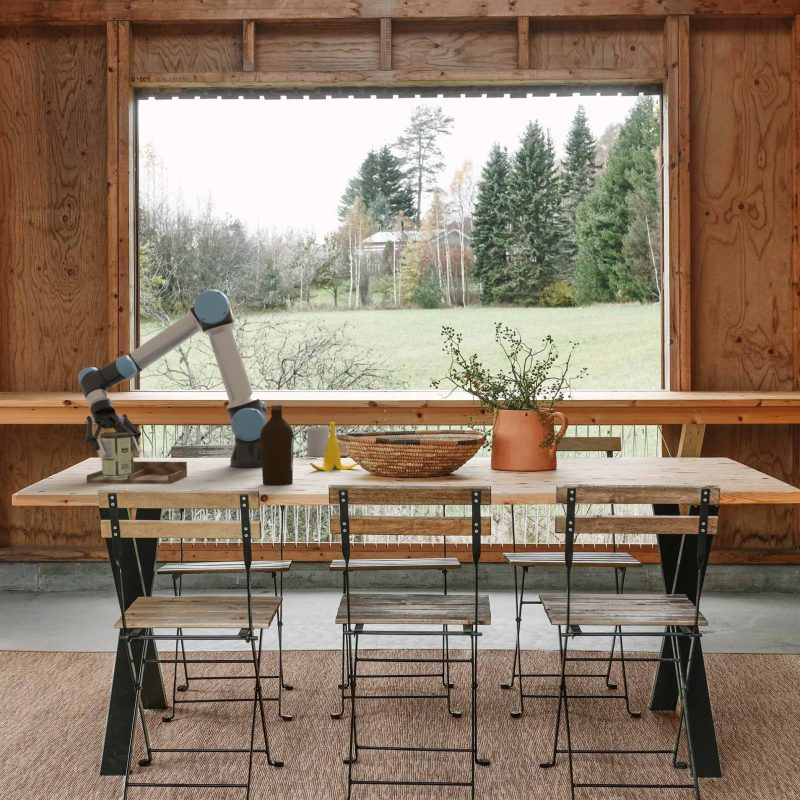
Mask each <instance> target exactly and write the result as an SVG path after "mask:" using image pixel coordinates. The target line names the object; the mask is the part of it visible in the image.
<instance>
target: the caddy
mask: <svg viewBox="0 0 800 800" xmlns="http://www.w3.org/2000/svg"><path fill="white" fill-rule="evenodd" d="M133 465H134V473H133V474H130V475H127V477H122V478H105V477H102V469H101V470H98V471H94V472H91V473H90V474H87V475H86V483H87V484H174V483H175V482H177V481H180V480H182V479H184V478H187V477H188V461H139V460H138V461H134V460H133Z"/></svg>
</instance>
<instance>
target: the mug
mask: <svg viewBox="0 0 800 800" xmlns="http://www.w3.org/2000/svg"><path fill="white" fill-rule="evenodd" d="M329 430H330V428H329V427H325V426H324V427H323V426H319V427H308V428H306V433H307V434H306V437H307V438H306V439H307V441H306V442H307V455H306V456H307V457H308V458H324V457H325V453H326V447H327V443H328V439H329V436H330V431H329Z"/></svg>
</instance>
